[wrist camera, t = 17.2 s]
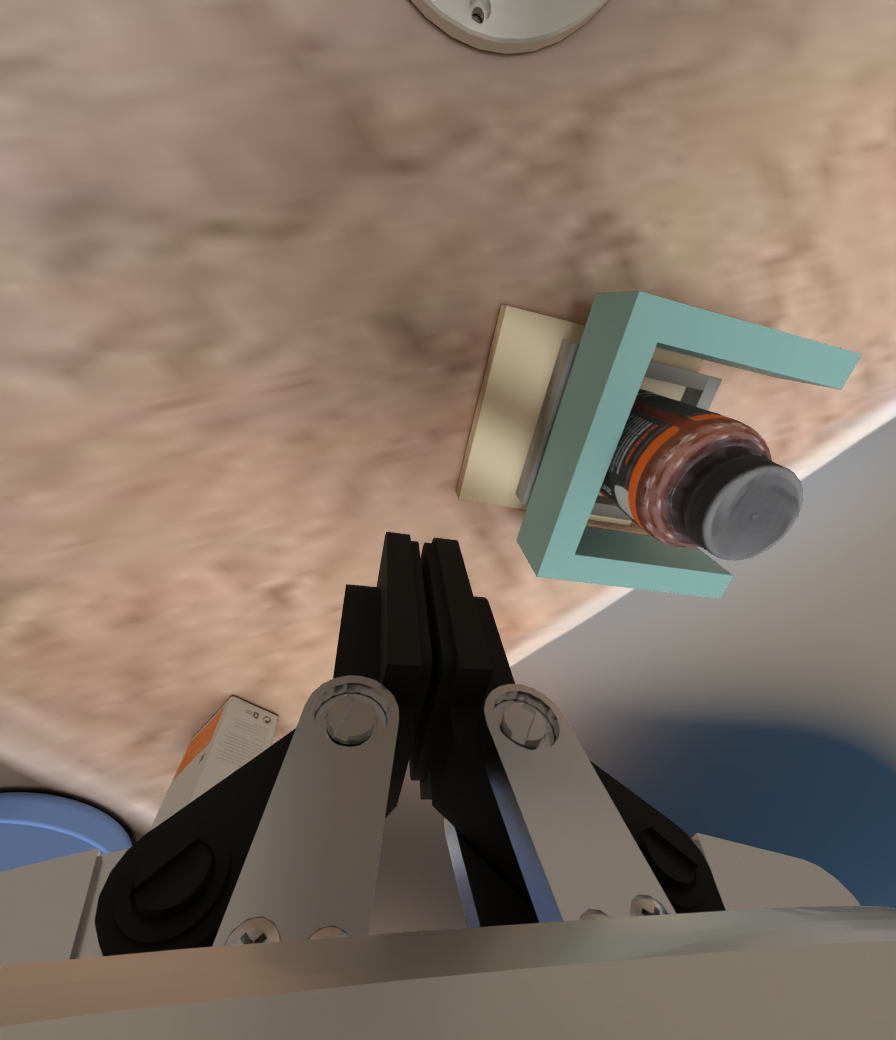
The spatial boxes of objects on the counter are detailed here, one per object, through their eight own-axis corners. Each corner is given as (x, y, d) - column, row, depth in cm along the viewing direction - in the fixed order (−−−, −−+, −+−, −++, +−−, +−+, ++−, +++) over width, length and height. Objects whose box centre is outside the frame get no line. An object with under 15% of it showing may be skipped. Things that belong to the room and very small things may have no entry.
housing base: (501, 305, 23) (514, 305, 21) (698, 356, 26) (730, 361, 24) (455, 492, 28) (462, 509, 25) (627, 519, 30) (648, 537, 28)
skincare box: (231, 692, 33) (157, 879, 22) (280, 714, 34) (233, 898, 24) (188, 738, 34) (100, 934, 24) (237, 757, 36) (176, 948, 25)
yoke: (596, 293, 21) (639, 291, 17) (788, 346, 23) (862, 354, 20) (516, 540, 26) (537, 576, 23) (678, 562, 29) (720, 598, 25)
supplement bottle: (556, 482, 27) (658, 586, 17) (572, 383, 24) (704, 438, 14) (645, 481, 28) (793, 580, 18) (670, 385, 25) (859, 438, 15)
